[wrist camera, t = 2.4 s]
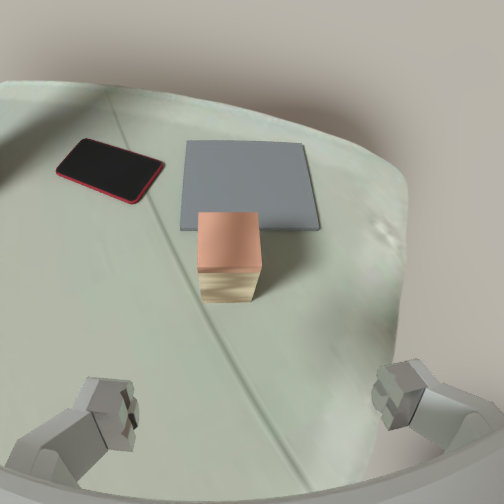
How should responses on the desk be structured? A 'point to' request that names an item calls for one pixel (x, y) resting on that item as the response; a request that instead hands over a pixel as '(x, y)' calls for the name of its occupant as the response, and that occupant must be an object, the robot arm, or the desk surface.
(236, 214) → the beech block
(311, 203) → the rubber mat
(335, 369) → the desk surface
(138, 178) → the smartphone
